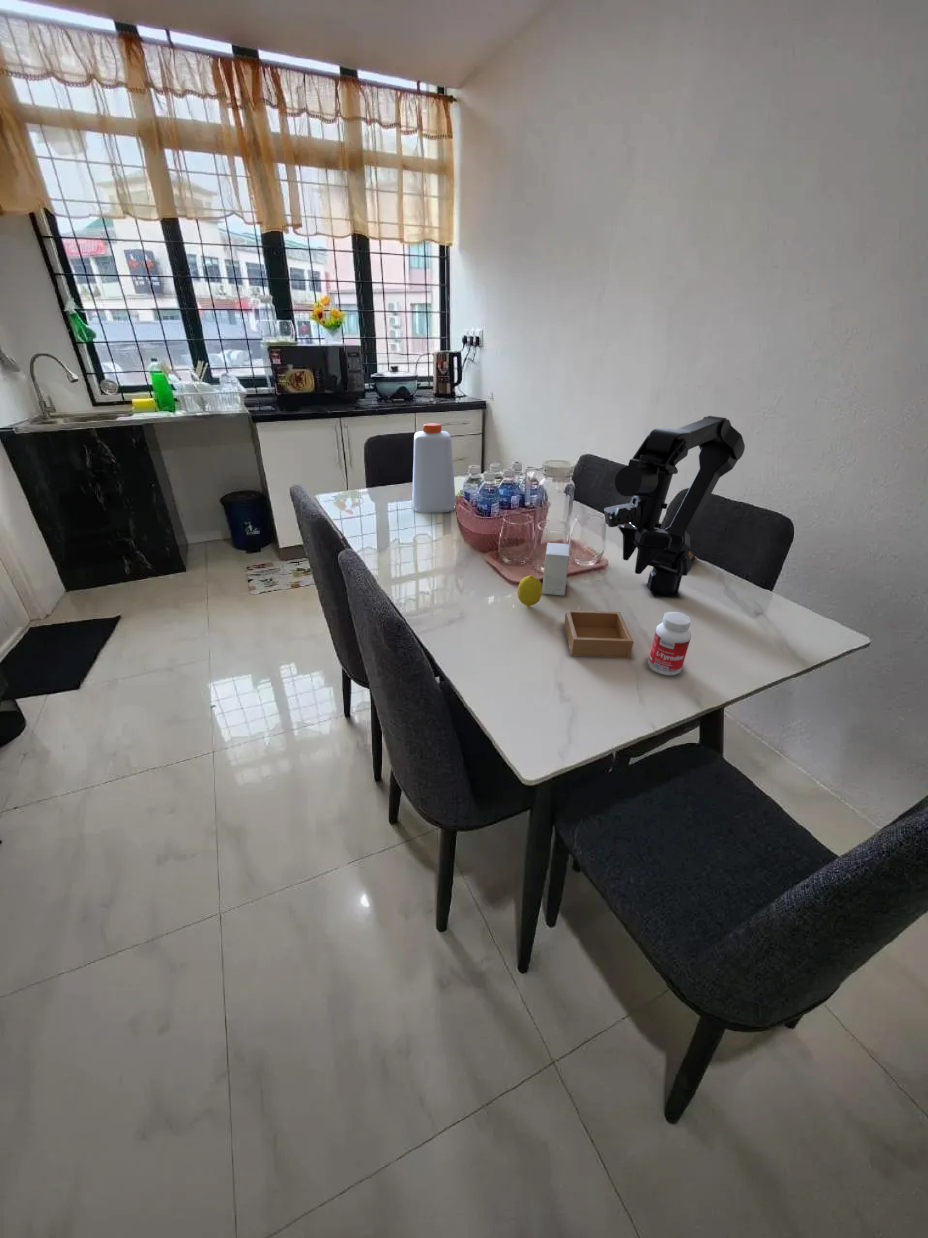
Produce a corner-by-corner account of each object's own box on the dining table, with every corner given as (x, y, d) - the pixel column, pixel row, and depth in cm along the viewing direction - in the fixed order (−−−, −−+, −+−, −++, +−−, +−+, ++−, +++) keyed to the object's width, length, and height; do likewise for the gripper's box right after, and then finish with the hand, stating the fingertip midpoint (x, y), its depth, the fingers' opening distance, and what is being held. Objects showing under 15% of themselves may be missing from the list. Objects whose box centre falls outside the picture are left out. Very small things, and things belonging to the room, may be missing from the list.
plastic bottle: (412, 500, 186) (409, 420, 171) (452, 500, 187) (453, 420, 173) (413, 514, 173) (409, 428, 158) (456, 513, 174) (457, 428, 160)
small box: (564, 596, 122) (569, 556, 116) (541, 594, 122) (545, 554, 117) (565, 582, 128) (570, 543, 123) (543, 580, 129) (547, 541, 124)
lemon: (542, 603, 118) (545, 572, 114) (537, 614, 114) (540, 582, 110) (519, 599, 120) (522, 568, 116) (513, 609, 115) (516, 578, 111)
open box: (617, 627, 109) (620, 611, 107) (630, 657, 99) (633, 641, 97) (563, 625, 110) (565, 610, 108) (571, 655, 100) (573, 639, 98)
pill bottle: (648, 673, 95) (660, 623, 89) (646, 655, 100) (658, 607, 94) (682, 679, 94) (697, 628, 88) (679, 660, 99) (693, 612, 93)
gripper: (602, 481, 111) (586, 549, 118) (626, 498, 94) (605, 576, 101) (651, 488, 112) (632, 555, 118) (683, 506, 95) (659, 583, 101)
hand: (631, 566), depth 109 cm, fingers open, 9 cm apart
